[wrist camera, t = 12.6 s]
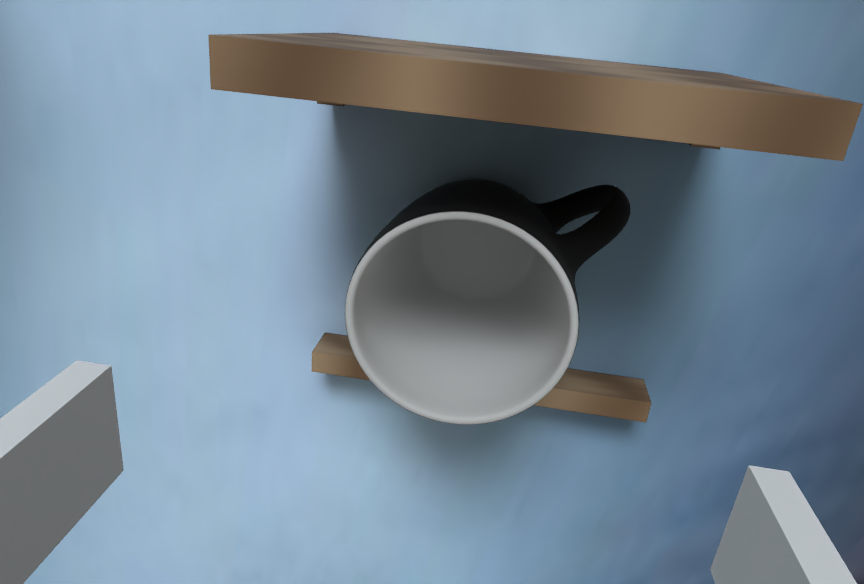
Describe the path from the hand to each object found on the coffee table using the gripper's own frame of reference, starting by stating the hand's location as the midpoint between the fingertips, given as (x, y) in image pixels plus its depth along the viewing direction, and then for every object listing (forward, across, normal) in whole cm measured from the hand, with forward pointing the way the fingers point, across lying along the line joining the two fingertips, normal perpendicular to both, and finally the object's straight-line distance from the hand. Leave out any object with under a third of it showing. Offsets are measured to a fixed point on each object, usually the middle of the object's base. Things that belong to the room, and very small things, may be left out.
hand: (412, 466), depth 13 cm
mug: (+21, +2, -1) cm, 21 cm away
